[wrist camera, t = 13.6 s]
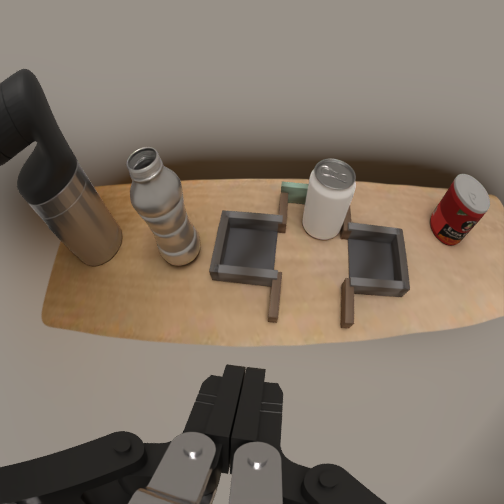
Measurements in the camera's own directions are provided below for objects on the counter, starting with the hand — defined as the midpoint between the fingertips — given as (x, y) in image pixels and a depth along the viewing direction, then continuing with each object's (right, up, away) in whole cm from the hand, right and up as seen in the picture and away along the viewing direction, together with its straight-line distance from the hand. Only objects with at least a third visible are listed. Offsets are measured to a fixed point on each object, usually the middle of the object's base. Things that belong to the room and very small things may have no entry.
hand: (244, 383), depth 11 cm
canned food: (+36, +9, +36) cm, 52 cm away
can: (+12, +9, +37) cm, 40 cm away
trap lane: (+9, +4, +34) cm, 35 cm away
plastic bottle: (-11, +5, +35) cm, 37 cm away
